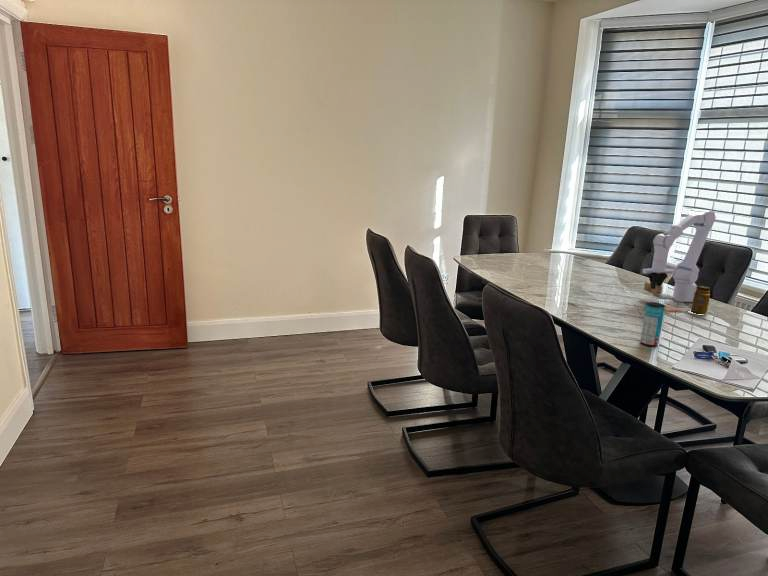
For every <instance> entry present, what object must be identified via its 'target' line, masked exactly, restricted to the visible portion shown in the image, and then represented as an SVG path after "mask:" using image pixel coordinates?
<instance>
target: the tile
mask: <svg viewBox="0 0 768 576" xmlns="http://www.w3.org/2000/svg"><path fill="white" fill-rule="evenodd" d="M666 311H667V313H682V312H683V309H680V308H678V307H675V306H673V305H665V309H664V312H666Z"/></svg>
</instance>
